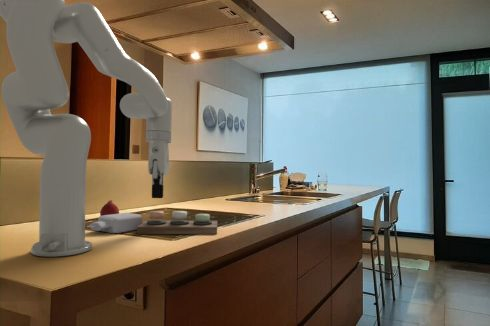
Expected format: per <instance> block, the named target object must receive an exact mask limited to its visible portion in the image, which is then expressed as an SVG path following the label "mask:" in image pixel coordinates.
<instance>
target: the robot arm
mask: <svg viewBox="0 0 490 326" xmlns="http://www.w3.org/2000/svg"><path fill="white" fill-rule="evenodd" d="M65 4H66V0H0V17H1V19H3V21H4V22H5V23H6V28H5V29H6V30H5V31H6V32H5V33H6V34H5V36H6V44H7V46H8V50H9V52H10V56H11V59H12V62H13V64H14V68H15V70H16V71H12V72H11V73H9V74H8V75H6V76H5V78H4V79H3V81H2V85H1V98H2V101H3V104H4V107H5V108H6V112H7V115H8V116H9V119H10V121H11V123H12V126H13V127H14V130H15V132H16V134H17V137H18V138H19V141H20V142H21V144H22V145H23V146H24V147H25V149H26V150H27V151H29V152H31V153H32V154H35V155H37V156H38V155H39V156H44V157H43V161H42V163H41V167H40V170H39V171H40V174H39V220H38V221H39V225H38V226H39V228H38V229H39V230H38V231H39V232H38V233H39V234H38V236H39V237H38V241H37V242H35V243H34V244H32V246H31V248H30V253H31V254H32V255H33V256H37V257H48V258H49V257H53V258H55V257H67V256H73V255H79V254H84V253H86V252H88V251H90V250H92V249H93V243H92V242H91V241H89V240H86V199H87V198H86V197H87V196H86V193H87V192H86V190H87V187H86V186H87V183H86V182H87V163H88V156H89V151H90V147H91V142H92V133H91V129H90V126H89V125H88V123H87V122H86V121H85V120H84V119H83V118H81V117H80V116H79V115H75V114H71V113H54V114H52V113H51V110H54V109H59V108H61V107H64V105H66V104H67V102H68V101H69V98H70V90H69V87H68V83H67V81H66V78H65V75H64V72H63V68H62V66H61V63H60V61H59V58H58V55H57V52H56V49H55V45H54V43H55V42H56V43H59V44H74V43H78V44H79V46H80V47H81V48H82V50H83V51H84V52H85V54H86V55H87V57H88V58H89V60H90V61H91V63H92V64H93V65H94V67H95V69H96V70H97V71H98V72H99V73H101V74H103V75H106V76H108V77H111V78H114V79H117V80H118V81H122V82H125V84H128V85H129V86H131V87H132V88H133V89H135V90H136V92H130V93H127V94H125V95H123V97H122V98H121V99H120V102H119V110H120V111H121V113H122V114H123V115H124V116H125V117H127V118H129V119H133V120H138V119H139V120H142V119H143V120H146V121H145V123H146V126H145V128H146V129H145V131H146V132H145V143H148V157H147V159H148V160H147V165H148V166H147V167H148V168H147V169H148V174H149V175H151V198H152V199H162V198H164V176H167V175H169V174H170V151H169V150H170V149H169V144H171V143H172V121H173V120H172V119H173V118H172V116H173V114H172V112H173V105H172V100H171V98H169V97H167V95H166V92H165V90H164V89H163V87H162V86H161V84H160V82H159V80H158V79H157V78H156V76H155V75H154V74H153V73H152V72H151V71H150V70H149V69H147V67H145V66H143V64H141V63H140V62H138V61H137V60H135V59H134V58H132V57H130V56H129V55H128V54H127V53H126V52H125V50H124V49H123V47H122V45H121V44H120V43H119V40H118V39H117V37H116V35H115V34H114V32H113V31H112V29H111V28H110V26H109V24H108V22H106V20H105V18H104V17H103V14H102V13H101V12H100V10H99V9H98V8H97V7H96V6H95V5H94V4H92V3H90V2H85V1H82V2H81V1H80V2H74V3H72V4H71V3H70V4H69V5H65Z"/></svg>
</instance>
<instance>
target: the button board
mask: <svg viewBox="0 0 490 326" xmlns="http://www.w3.org/2000/svg"><path fill="white" fill-rule="evenodd" d="M136 234H137V235H217V234H218V220H210V221H206V222H198V221H195V220H186V219H174V220H172V219H171V220H170V219H169V220H165V219H150V220H148V219H146V220H144V221H142V224H140V225H139V226H138V227H137V230H136Z"/></svg>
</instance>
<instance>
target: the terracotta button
mask: <svg viewBox="0 0 490 326" xmlns="http://www.w3.org/2000/svg"><path fill="white" fill-rule="evenodd" d="M164 218H165V211H163V210H151V211H149V212H148V219H150V220H162V219H164Z"/></svg>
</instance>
